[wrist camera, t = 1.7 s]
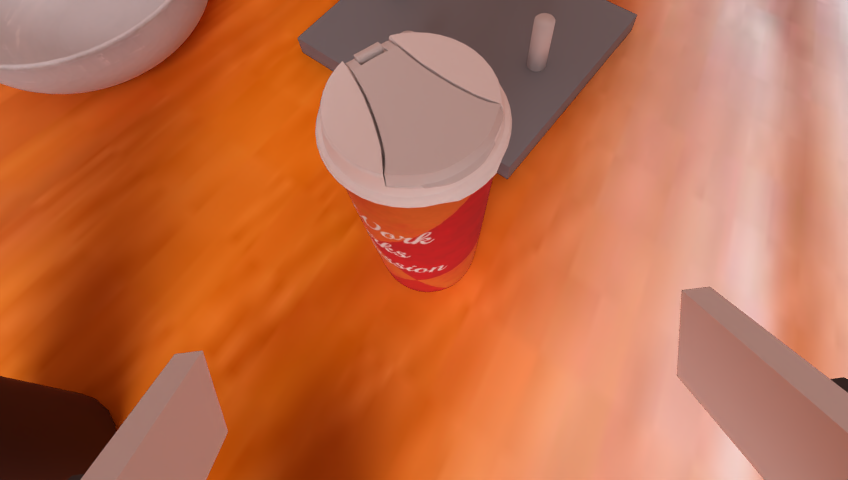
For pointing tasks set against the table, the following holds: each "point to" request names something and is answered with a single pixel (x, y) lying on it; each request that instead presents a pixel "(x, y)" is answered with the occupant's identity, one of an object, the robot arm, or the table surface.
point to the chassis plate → (492, 47)
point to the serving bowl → (89, 41)
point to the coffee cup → (416, 150)
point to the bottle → (49, 431)
